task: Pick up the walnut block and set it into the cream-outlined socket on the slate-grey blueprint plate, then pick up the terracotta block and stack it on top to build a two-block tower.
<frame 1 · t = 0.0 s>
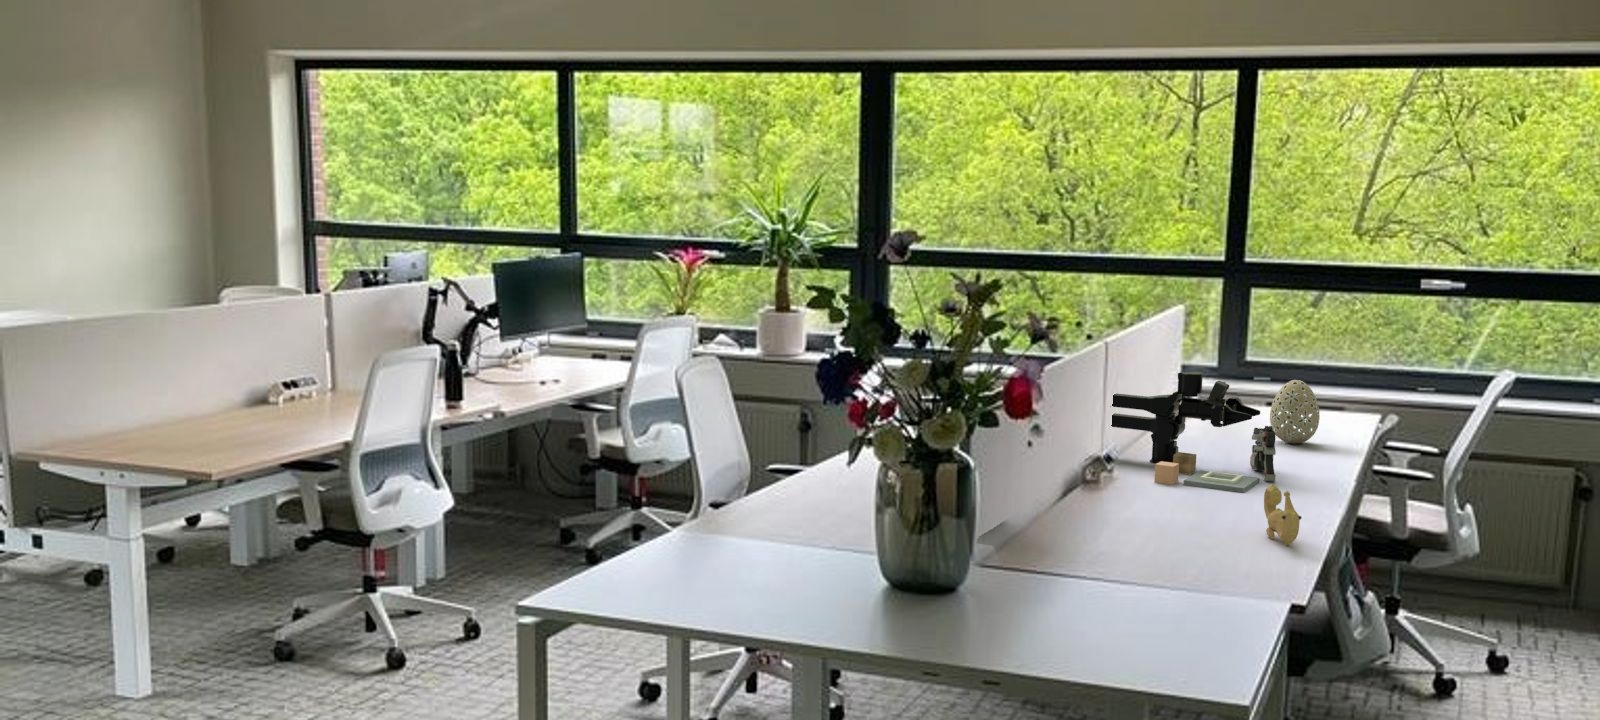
hand: (1256, 414, 400), 17 cm above the table, tool horizontal, fingers open, 9 cm apart
blueprint plate: (1221, 483, 388), on the table
ornament: (1292, 443, 449), on the table
toy: (1279, 540, 329), on the table
toy blaster: (1261, 475, 401), on the table
walnut block: (1184, 472, 402), on the table
terracotta block: (1166, 481, 389), on the table
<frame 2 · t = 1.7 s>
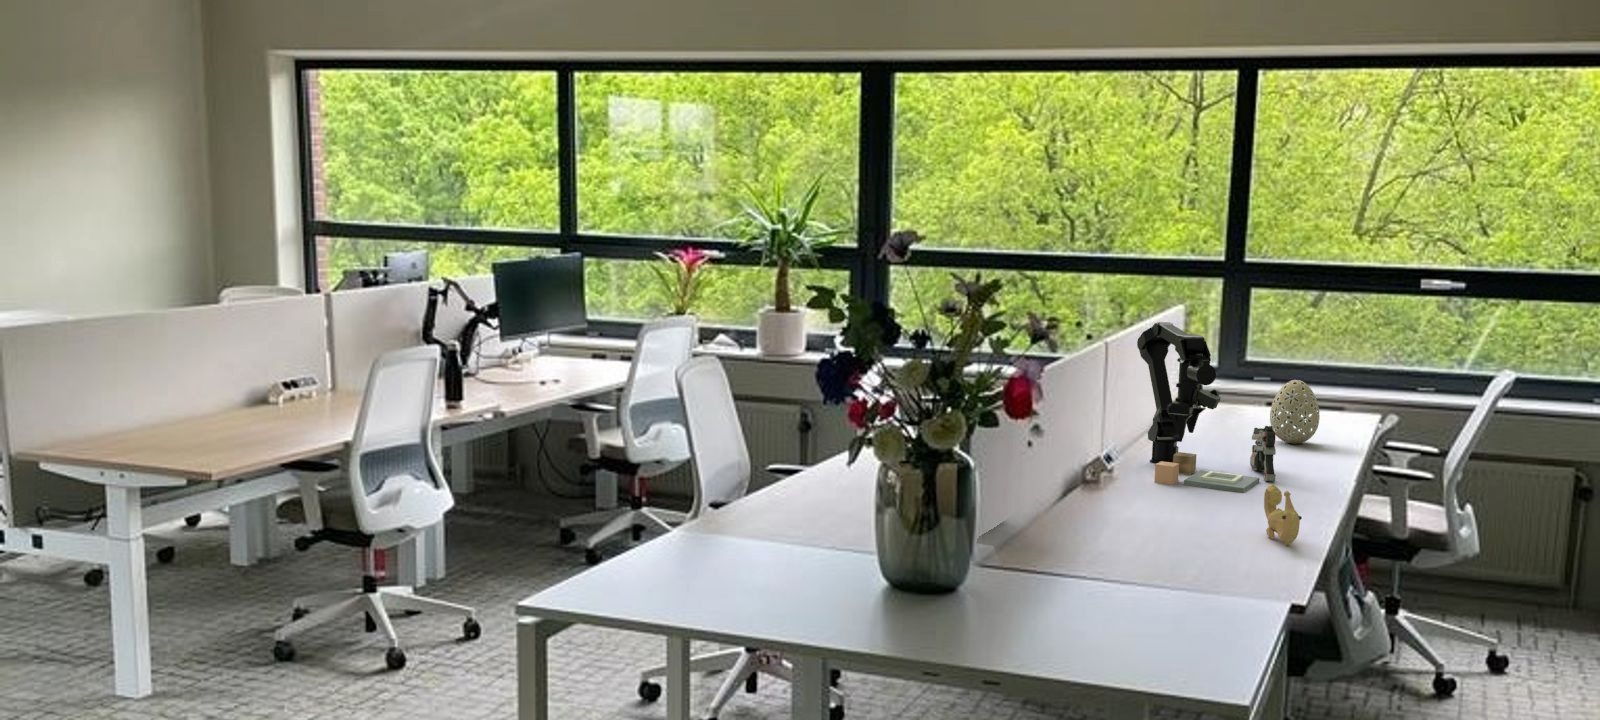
hand: (1186, 435, 401), 10 cm above the table, tool pointing down, fingers open, 9 cm apart
nothing on the table moved.
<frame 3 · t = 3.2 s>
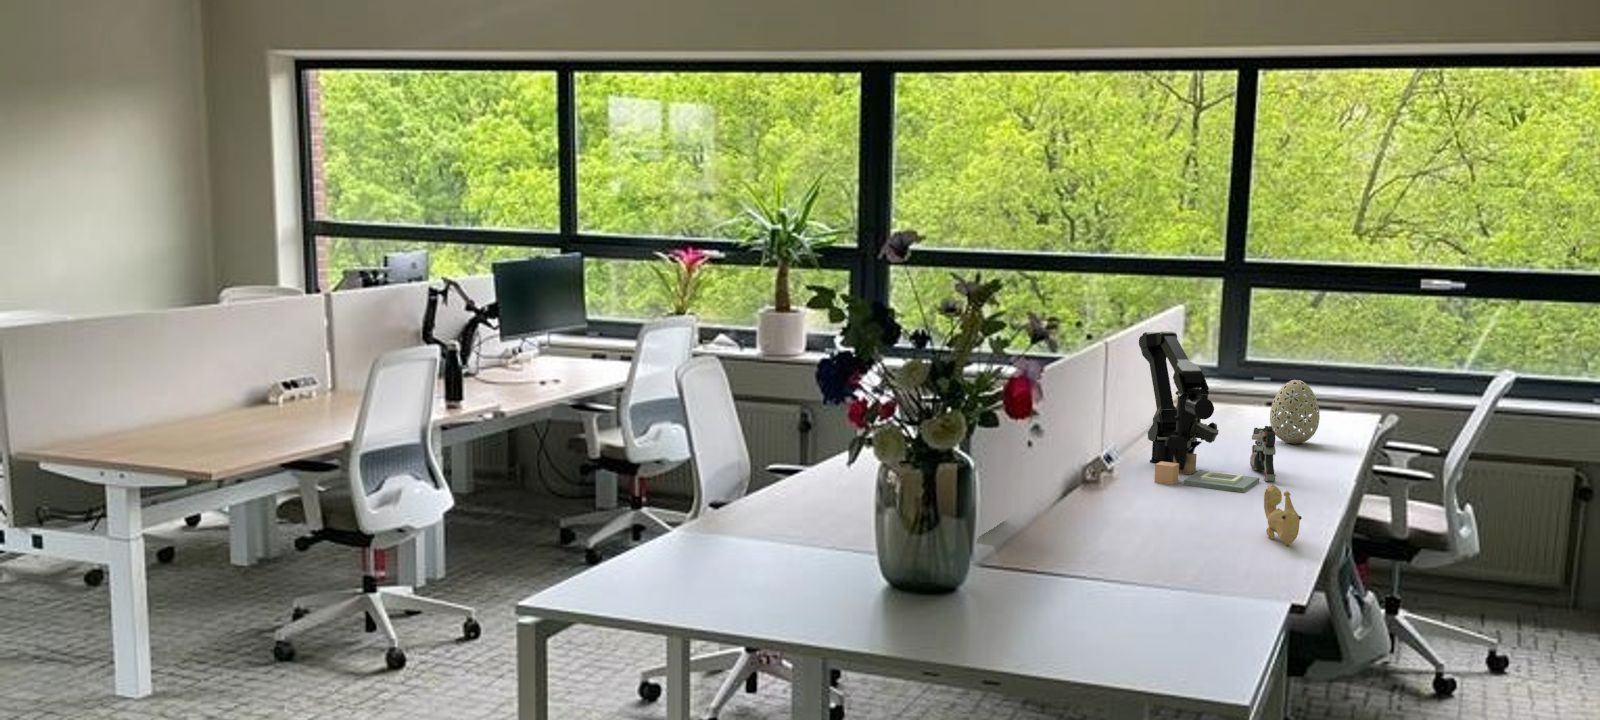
hand: (1184, 468, 402), 1 cm above the table, tool pointing down, fingers closed on walnut block, 5 cm apart
walnut block: (1184, 471, 402), on the table, touching gripper
everything else where it was.
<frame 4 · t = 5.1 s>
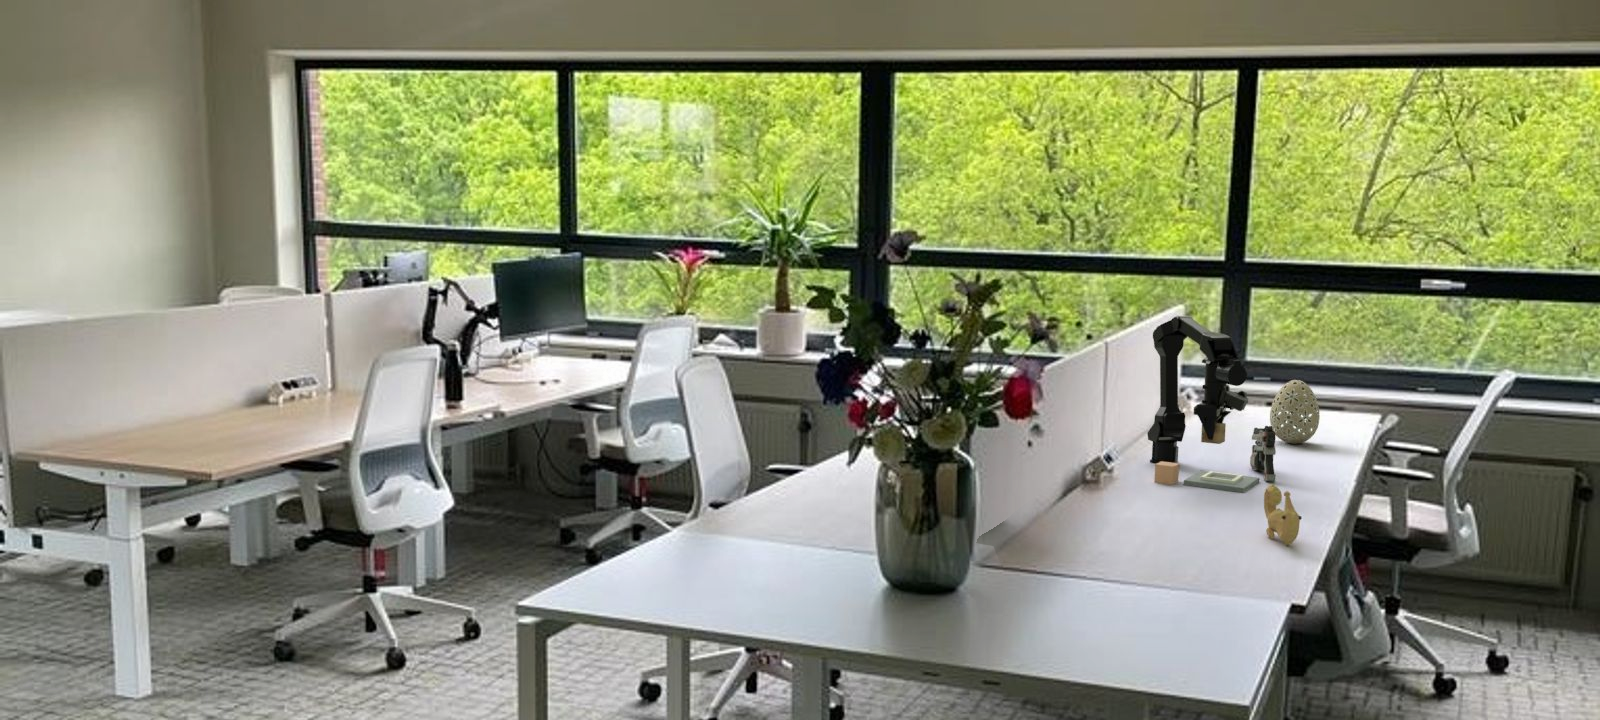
hand: (1213, 438, 390), 12 cm above the table, tool pointing down, fingers closed on walnut block, 5 cm apart
walnut block: (1213, 441, 390), point 11 cm above the table, touching gripper
everything else where it was.
when the fingers open (3 cm above the table, at t = 7.2 s): walnut block drops 1 cm, resting on blueprint plate.
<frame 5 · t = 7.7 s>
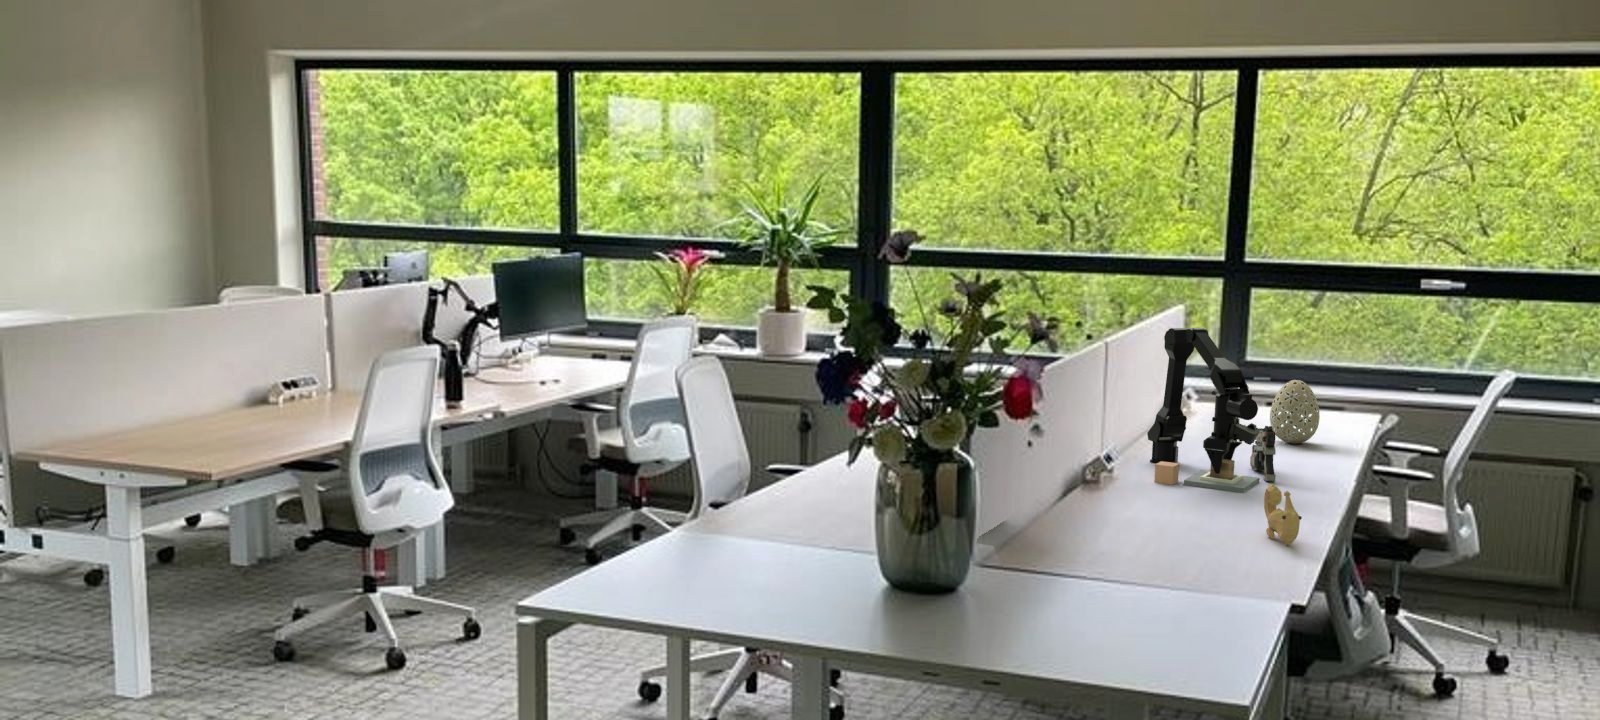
hand: (1222, 470, 388), 3 cm above the table, tool pointing down, fingers open, 9 cm apart
walnut block: (1221, 478, 388), point 1 cm above the table, touching blueprint plate
everything else where it was.
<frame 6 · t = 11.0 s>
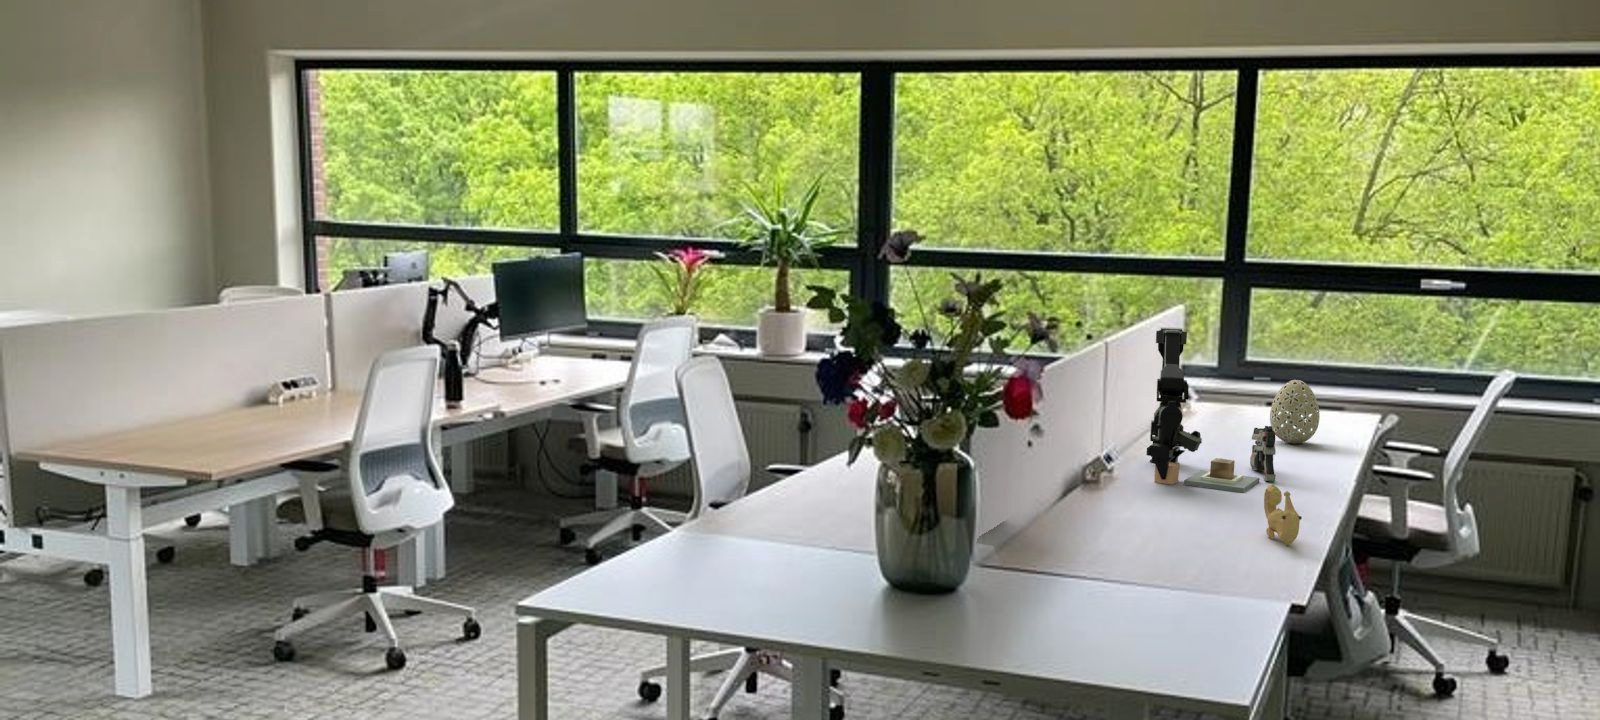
hand: (1166, 477, 389), 1 cm above the table, tool pointing down, fingers closed on terracotta block, 5 cm apart
terracotta block: (1166, 481, 389), on the table, touching gripper
everything else where it was.
when the fingers open (9 cm above the table, at t = 14.0 s): terracotta block drops 1 cm, resting on walnut block.
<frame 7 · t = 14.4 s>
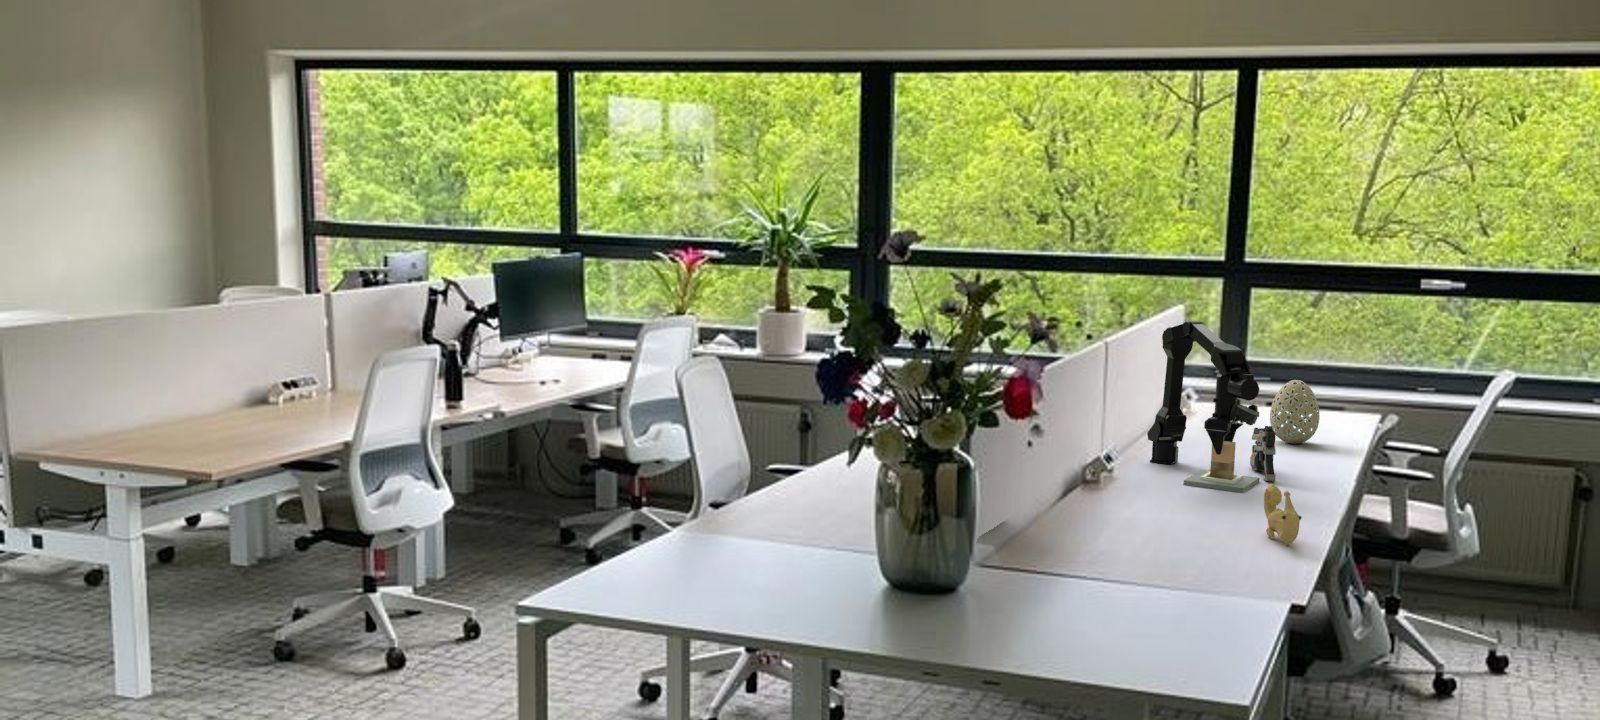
hand: (1223, 451, 387), 9 cm above the table, tool pointing down, fingers open, 9 cm apart
walnut block: (1221, 478, 388), point 1 cm above the table, touching blueprint plate, terracotta block
terracotta block: (1222, 460, 387), point 6 cm above the table, touching walnut block
everything else where it was.
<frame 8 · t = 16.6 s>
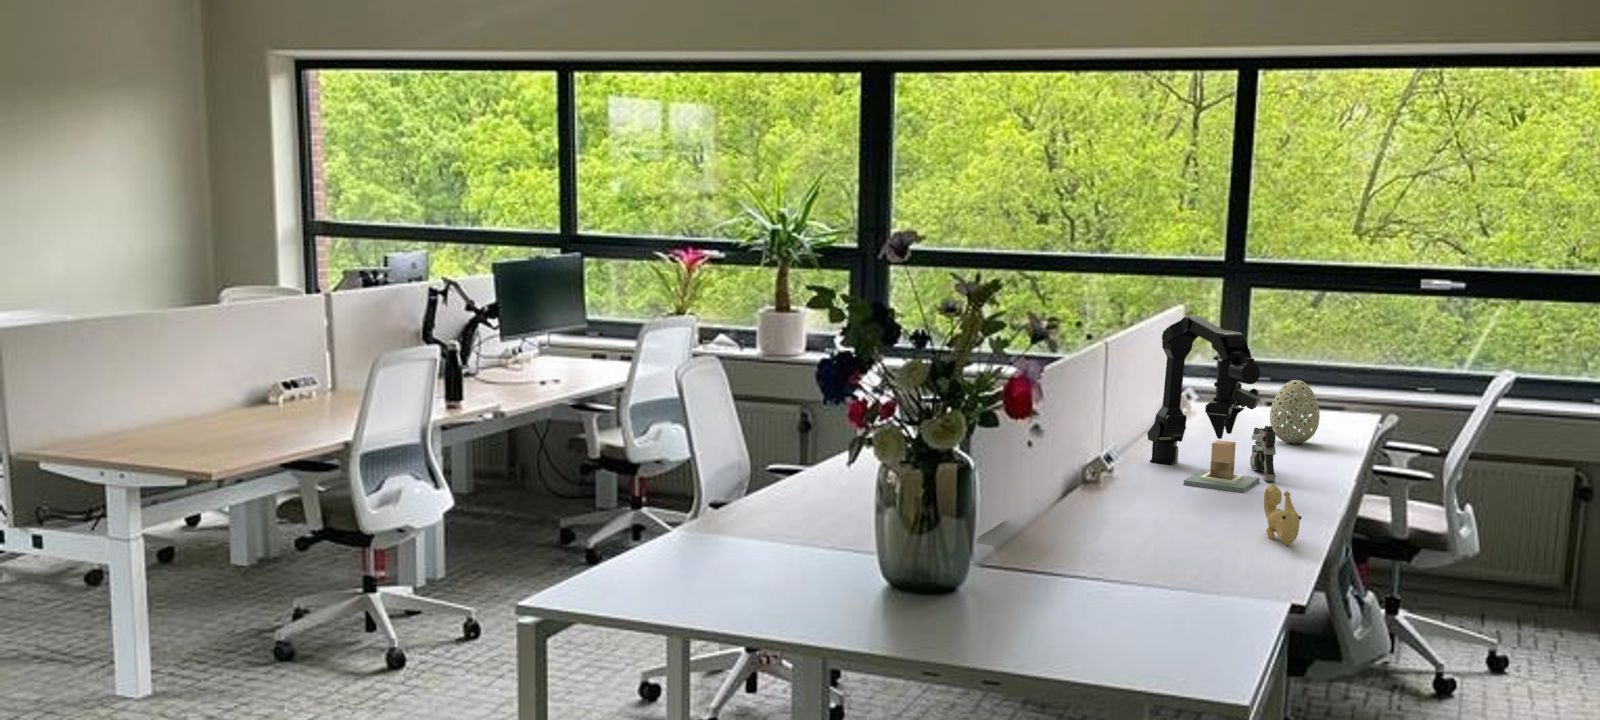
hand: (1224, 436, 386), 13 cm above the table, tool pointing down, fingers open, 9 cm apart
nothing on the table moved.
at the end: walnut block 0.0 cm off-centre on the blueprint plate, point 1.2 cm above the blueprint plate's base; terracotta block 0.0 cm off-centre on the walnut block, point 5.0 cm above the walnut block's base; terracotta block tilted 0° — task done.
